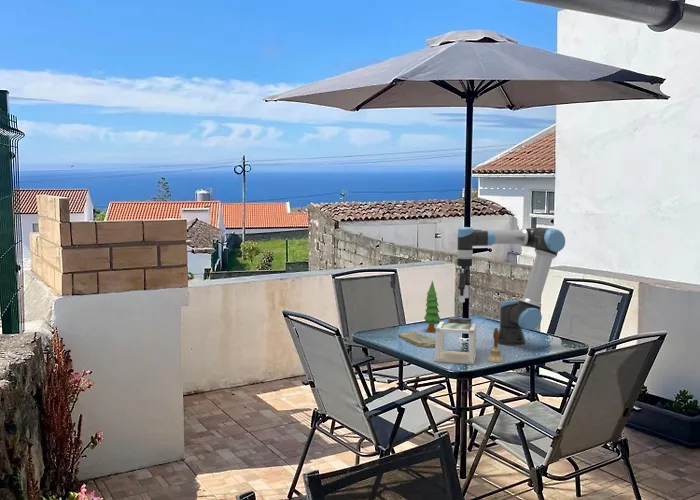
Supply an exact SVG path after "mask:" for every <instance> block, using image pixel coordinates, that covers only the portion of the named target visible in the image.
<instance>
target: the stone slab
mask: <svg viewBox="0 0 700 500" xmlns="http://www.w3.org/2000/svg"><path fill="white" fill-rule="evenodd" d="M397 338H399V339H401V338H402V339H401V340H403V339H404V341H405V340H406V341H405V342H408V343H409V344H411V345H414V346H416V347H418V348H427V349H433V348H434V349H435V338H433V337H432V336H431V337H430V336H428V335H424V334H421V333H418V332H417V331H409V332H404V333H403V332H402V333H398V334H397Z"/></svg>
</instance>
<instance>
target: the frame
mask: <svg viewBox="0 0 700 500" xmlns="http://www.w3.org/2000/svg"><path fill="white" fill-rule="evenodd" d="M439 322H440V323H438V324H437V326H436V327H435V329H436V332H435V336H434V337H435V338H434V339H435V348H434V349H435V350H434V352H435V353H434V358H433V361H434V362H438V363H451V364H452V363H453V364H462V365H464V364H465V365H475V361H476V358H477V357H478V356H477V355H478V353H477V352H476V351H477V323H475V322H474V323H473V322H471V323H472V324H471V327H470V330H466V329H449V328H442V326H443V325H444V323H445V321H439ZM445 333H451V334H452V333H453V334H468V351H454V350H453V351H452V350H444V349H445Z"/></svg>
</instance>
